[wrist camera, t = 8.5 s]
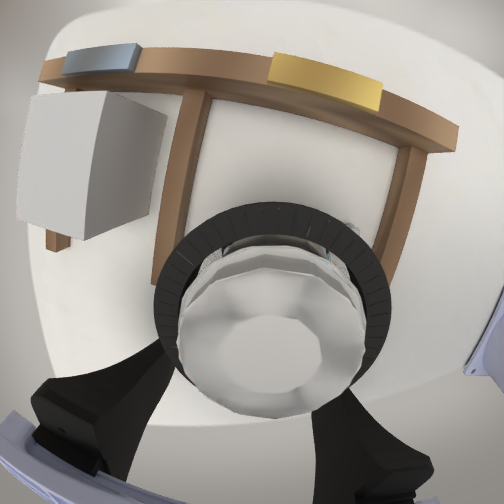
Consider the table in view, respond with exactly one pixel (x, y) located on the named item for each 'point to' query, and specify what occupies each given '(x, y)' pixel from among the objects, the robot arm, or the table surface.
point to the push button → (272, 309)
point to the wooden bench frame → (265, 95)
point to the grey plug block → (87, 162)
